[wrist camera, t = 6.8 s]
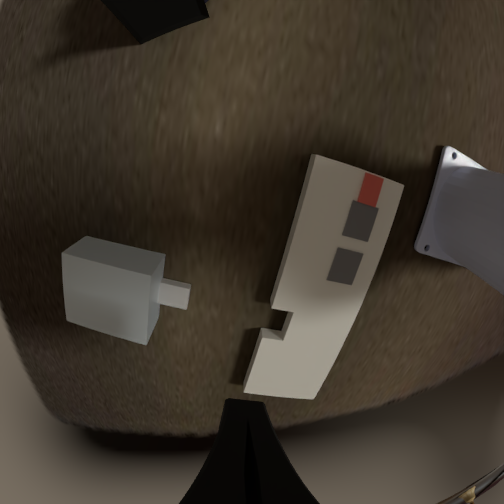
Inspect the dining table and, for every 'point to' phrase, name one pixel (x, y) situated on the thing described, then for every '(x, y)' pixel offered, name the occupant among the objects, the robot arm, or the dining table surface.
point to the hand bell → (468, 495)
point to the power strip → (323, 276)
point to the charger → (117, 288)
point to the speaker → (156, 15)
